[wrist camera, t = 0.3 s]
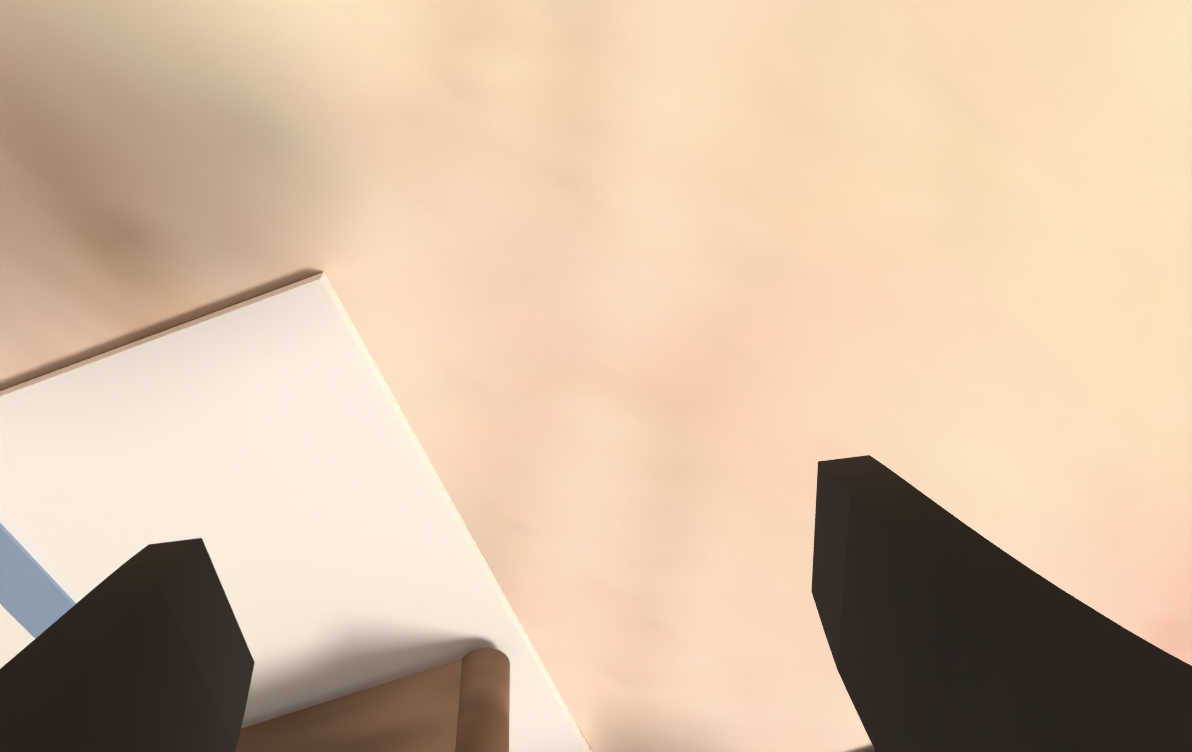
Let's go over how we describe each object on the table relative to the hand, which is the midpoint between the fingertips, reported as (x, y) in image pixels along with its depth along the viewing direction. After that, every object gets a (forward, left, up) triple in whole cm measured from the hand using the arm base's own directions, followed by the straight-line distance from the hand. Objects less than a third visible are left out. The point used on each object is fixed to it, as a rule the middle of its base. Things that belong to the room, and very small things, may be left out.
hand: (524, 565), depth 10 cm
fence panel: (-11, +9, -9) cm, 17 cm away
